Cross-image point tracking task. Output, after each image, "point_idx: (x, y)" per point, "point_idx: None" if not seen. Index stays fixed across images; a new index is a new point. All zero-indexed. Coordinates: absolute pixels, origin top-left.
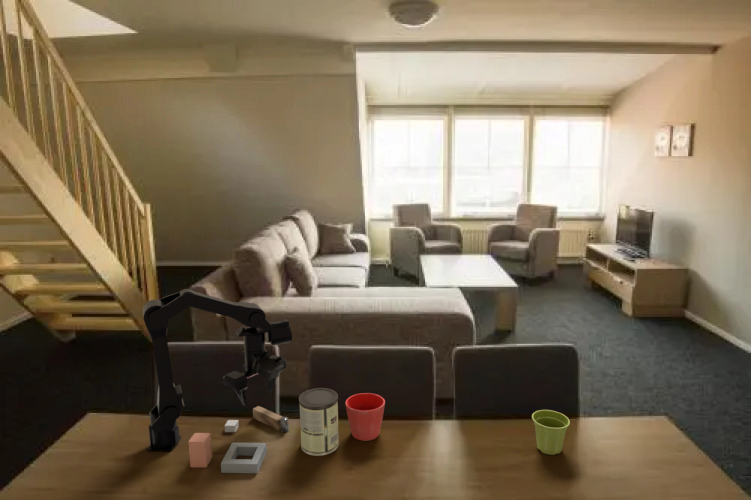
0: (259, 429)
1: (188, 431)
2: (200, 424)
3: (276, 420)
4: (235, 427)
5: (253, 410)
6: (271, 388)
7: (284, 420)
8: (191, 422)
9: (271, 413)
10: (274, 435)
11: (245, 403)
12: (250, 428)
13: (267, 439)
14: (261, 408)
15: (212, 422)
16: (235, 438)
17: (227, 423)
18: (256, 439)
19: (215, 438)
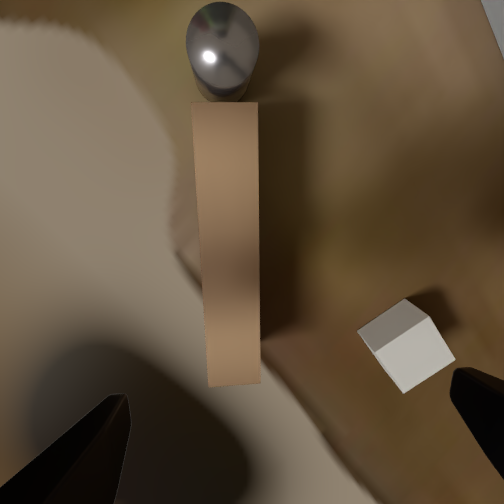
0: (313, 221)
1: None
2: (434, 464)
3: (257, 122)
4: (416, 312)
5: (259, 369)
6: (86, 432)
7: (243, 17)
8: (441, 499)
9: (218, 233)
10: (307, 85)
11: (487, 377)
12: (334, 269)
13: (364, 87)
14: (218, 345)
15: (396, 445)
16: (446, 250)
17: (431, 366)
18: (398, 146)
19: (489, 325)
